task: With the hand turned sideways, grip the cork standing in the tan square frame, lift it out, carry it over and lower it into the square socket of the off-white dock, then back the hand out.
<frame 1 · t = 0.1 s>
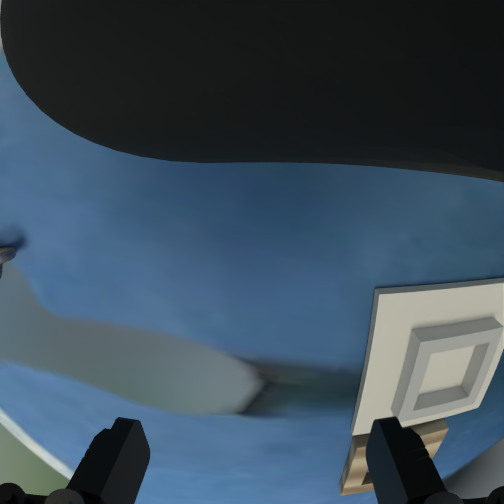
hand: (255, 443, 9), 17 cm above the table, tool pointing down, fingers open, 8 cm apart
dock: (439, 359, 29), on the table
tan square frame: (389, 456, 34), on the table
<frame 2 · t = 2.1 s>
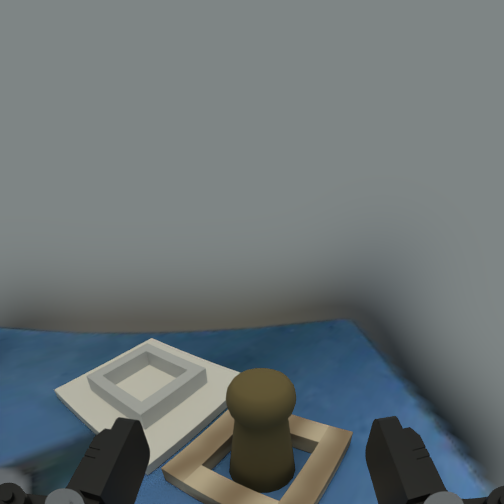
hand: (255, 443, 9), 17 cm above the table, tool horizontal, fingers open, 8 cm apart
dock: (149, 395, 35), on the table
cork: (262, 469, 25), resting in tan square frame
tan square frame: (262, 467, 25), on the table
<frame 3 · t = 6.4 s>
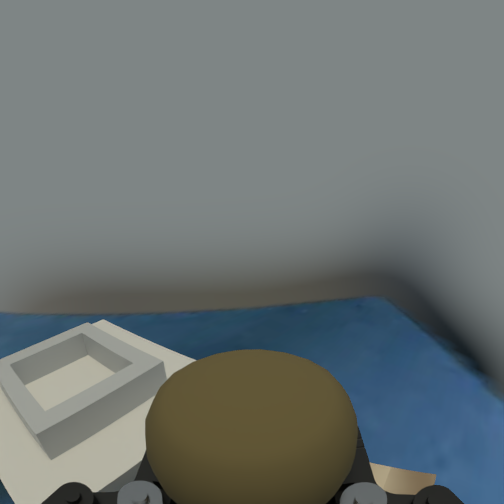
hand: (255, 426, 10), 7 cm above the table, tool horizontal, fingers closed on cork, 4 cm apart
dock: (79, 402, 20), on the table
when the fingers open (9 cm above the table, at t = 11.5 s): cork stays where it is, resting on dock.
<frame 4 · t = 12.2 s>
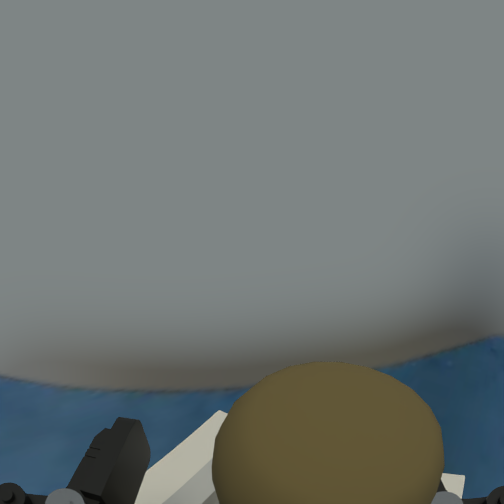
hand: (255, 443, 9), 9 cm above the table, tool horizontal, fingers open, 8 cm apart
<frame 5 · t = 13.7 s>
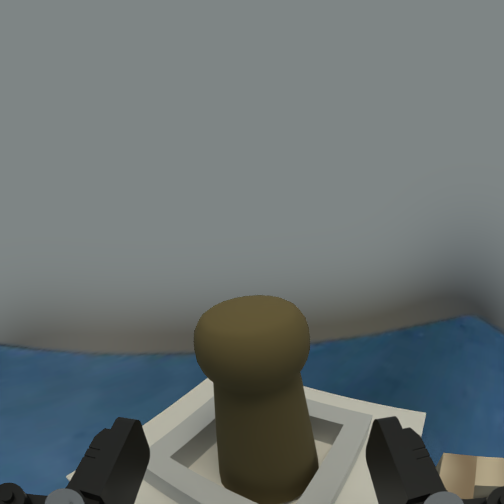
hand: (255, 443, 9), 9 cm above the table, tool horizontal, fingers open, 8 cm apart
dock: (261, 476, 17), on the table
cork: (269, 469, 16), point 1 cm above the table, touching dock
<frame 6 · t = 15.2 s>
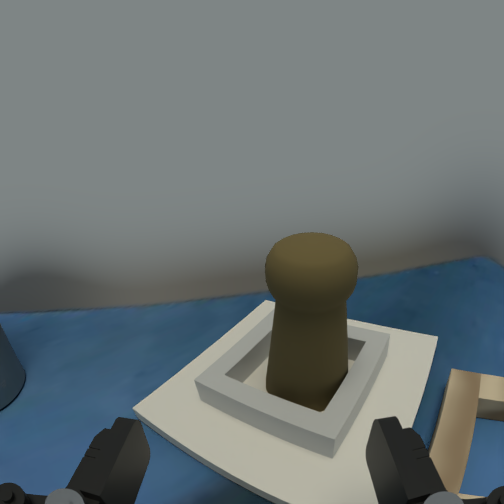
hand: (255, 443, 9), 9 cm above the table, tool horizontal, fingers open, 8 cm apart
dock: (300, 391, 23), on the table
cork: (306, 382, 22), point 1 cm above the table, touching dock
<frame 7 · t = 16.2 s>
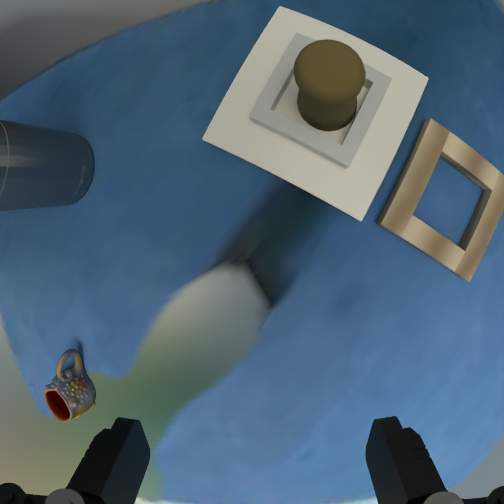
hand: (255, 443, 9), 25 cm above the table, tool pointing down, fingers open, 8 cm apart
dock: (320, 103, 30), on the table
mug: (82, 372, 41), on the table
cork: (327, 103, 29), point 1 cm above the table, touching dock
tan square frame: (447, 201, 30), on the table
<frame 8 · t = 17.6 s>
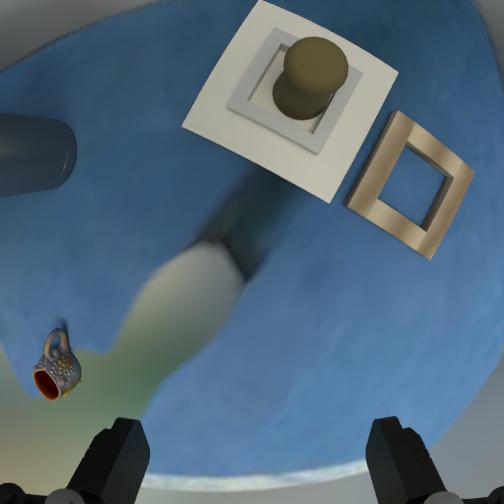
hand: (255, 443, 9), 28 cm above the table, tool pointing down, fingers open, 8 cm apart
dock: (294, 94, 32), on the table
mug: (67, 351, 42), on the table
cork: (300, 94, 31), point 1 cm above the table, touching dock
tan square frame: (411, 186, 34), on the table
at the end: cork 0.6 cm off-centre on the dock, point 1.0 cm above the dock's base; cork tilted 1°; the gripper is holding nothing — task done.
